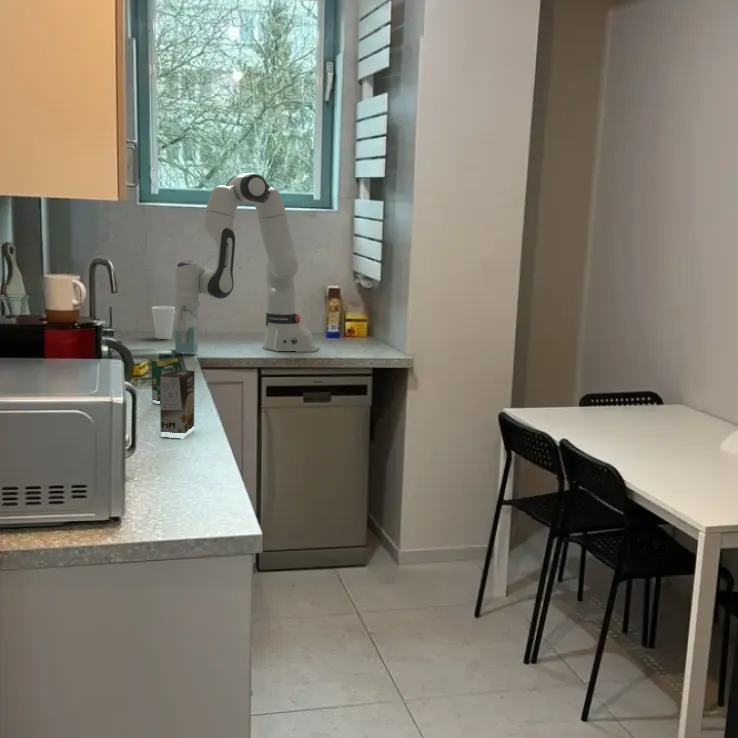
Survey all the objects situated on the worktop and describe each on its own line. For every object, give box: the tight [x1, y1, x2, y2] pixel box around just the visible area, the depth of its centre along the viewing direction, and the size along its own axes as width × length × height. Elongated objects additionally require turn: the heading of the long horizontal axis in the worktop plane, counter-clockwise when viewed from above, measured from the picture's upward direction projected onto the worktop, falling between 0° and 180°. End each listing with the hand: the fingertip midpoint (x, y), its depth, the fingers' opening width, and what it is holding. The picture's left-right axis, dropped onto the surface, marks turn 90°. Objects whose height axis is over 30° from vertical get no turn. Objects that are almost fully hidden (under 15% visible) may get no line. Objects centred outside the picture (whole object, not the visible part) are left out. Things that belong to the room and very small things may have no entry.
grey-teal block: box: [174, 325, 199, 353], centre depth 339 cm, size 7×7×9 cm
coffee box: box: [159, 369, 196, 433], centre depth 228 cm, size 9×6×16 cm
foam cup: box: [151, 305, 176, 340], centre depth 373 cm, size 10×9×13 cm
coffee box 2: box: [150, 356, 179, 401], centre depth 262 cm, size 8×3×13 cm, turn 139°
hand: (186, 340), depth 339 cm, fingers closed on grey-teal block, 7 cm apart
